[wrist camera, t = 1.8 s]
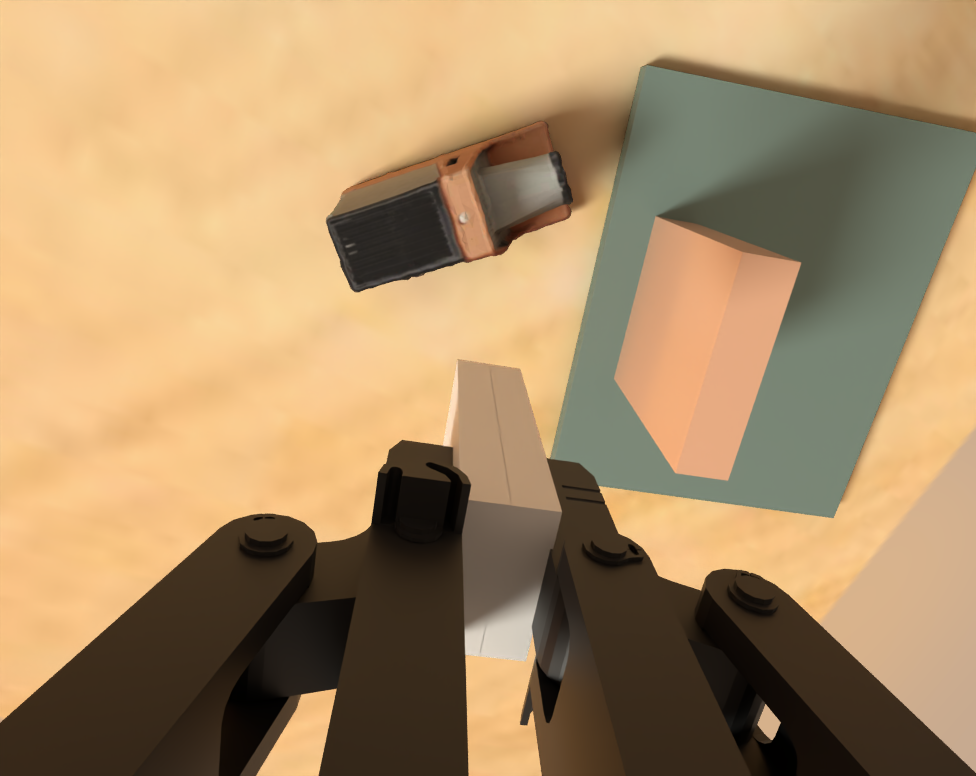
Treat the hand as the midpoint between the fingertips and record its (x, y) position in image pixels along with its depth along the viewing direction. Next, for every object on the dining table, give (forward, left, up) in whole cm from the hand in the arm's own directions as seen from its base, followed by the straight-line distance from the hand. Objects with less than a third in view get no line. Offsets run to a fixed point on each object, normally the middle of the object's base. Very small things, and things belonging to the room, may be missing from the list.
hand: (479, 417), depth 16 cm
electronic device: (-3, -1, -18) cm, 18 cm away
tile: (0, +9, -16) cm, 19 cm away
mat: (0, +14, -17) cm, 22 cm away
